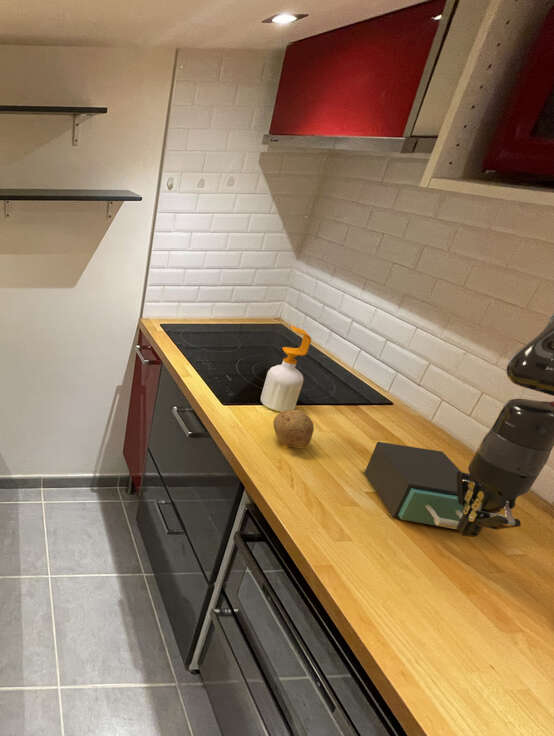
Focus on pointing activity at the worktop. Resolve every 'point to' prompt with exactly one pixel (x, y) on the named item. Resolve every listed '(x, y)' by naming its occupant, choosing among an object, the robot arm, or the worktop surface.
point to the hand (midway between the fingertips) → (465, 533)
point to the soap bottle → (285, 378)
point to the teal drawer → (432, 508)
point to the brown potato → (293, 428)
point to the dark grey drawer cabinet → (409, 473)
